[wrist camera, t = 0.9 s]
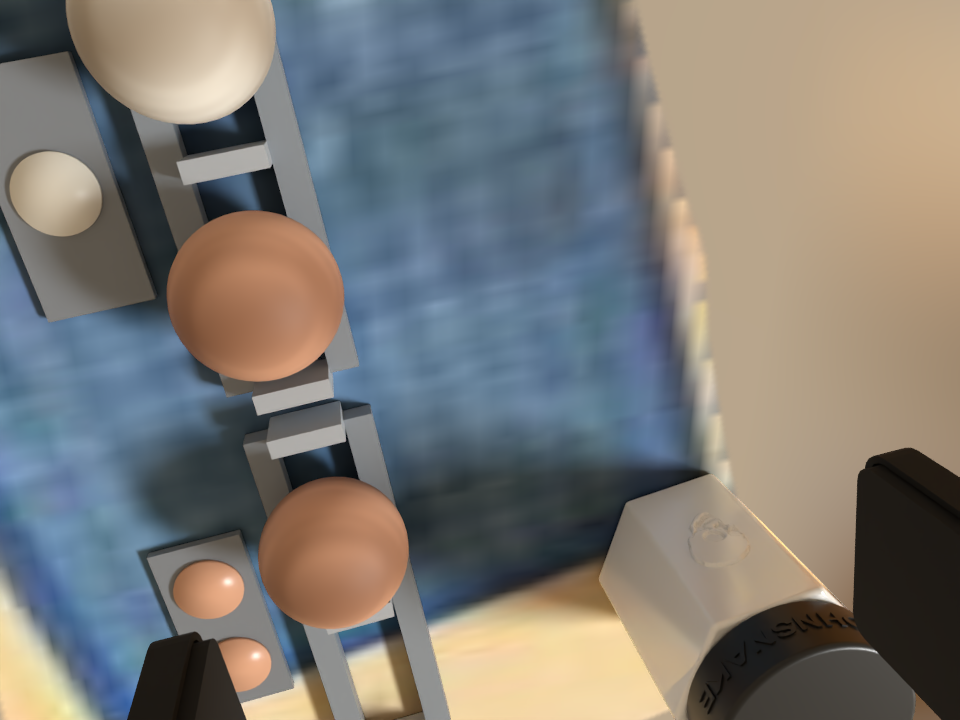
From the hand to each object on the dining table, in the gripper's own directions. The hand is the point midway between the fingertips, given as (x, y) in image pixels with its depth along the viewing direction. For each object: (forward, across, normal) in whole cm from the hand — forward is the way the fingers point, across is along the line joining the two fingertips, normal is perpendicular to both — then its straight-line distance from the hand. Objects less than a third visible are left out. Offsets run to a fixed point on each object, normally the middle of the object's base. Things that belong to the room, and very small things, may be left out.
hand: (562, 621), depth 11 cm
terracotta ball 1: (+22, +5, -1) cm, 22 cm away
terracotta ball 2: (+22, +5, +10) cm, 25 cm away
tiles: (+22, +12, +5) cm, 26 cm away
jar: (+22, -11, +18) cm, 31 cm away
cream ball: (+22, +6, -10) cm, 25 cm away
